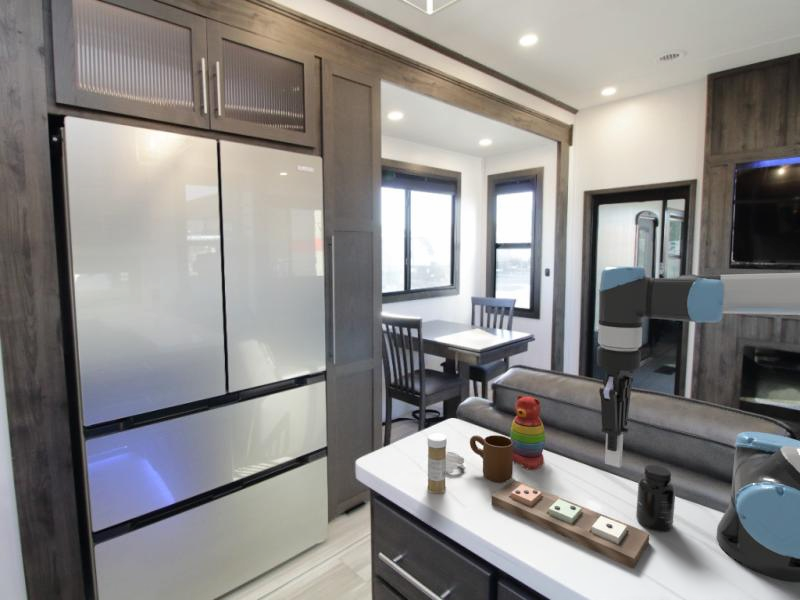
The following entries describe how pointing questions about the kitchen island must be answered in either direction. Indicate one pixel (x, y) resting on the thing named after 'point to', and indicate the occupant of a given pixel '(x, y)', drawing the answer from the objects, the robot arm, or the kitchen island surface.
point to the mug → (495, 456)
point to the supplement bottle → (656, 499)
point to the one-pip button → (609, 530)
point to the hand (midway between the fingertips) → (613, 464)
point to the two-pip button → (565, 511)
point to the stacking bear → (528, 433)
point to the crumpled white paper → (453, 461)
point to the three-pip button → (526, 495)
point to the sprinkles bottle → (436, 463)
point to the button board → (574, 525)
